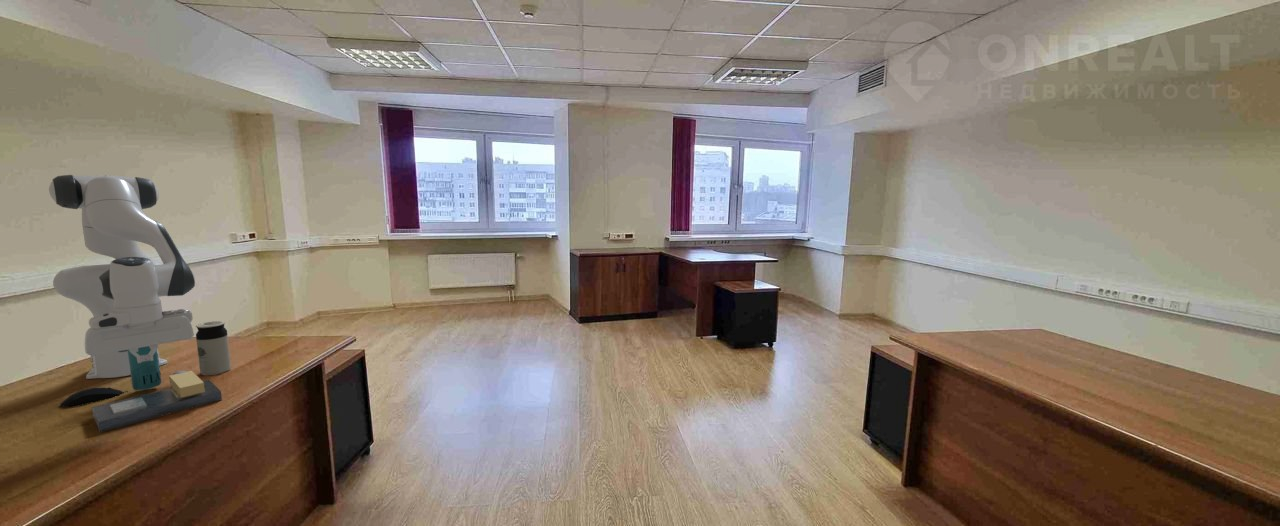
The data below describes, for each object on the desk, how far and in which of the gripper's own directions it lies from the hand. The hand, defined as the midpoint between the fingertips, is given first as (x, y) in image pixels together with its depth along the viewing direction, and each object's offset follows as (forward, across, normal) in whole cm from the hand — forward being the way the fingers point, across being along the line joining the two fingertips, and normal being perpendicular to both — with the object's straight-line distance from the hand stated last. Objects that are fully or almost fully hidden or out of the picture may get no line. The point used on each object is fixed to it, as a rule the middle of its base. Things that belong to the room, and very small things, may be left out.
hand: (145, 361), depth 123 cm
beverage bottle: (+16, -2, -23) cm, 28 cm away
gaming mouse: (+16, +8, -27) cm, 32 cm away
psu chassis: (+16, -2, -5) cm, 17 cm away
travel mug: (+16, -19, -27) cm, 37 cm away
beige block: (+12, -8, -5) cm, 15 cm away
